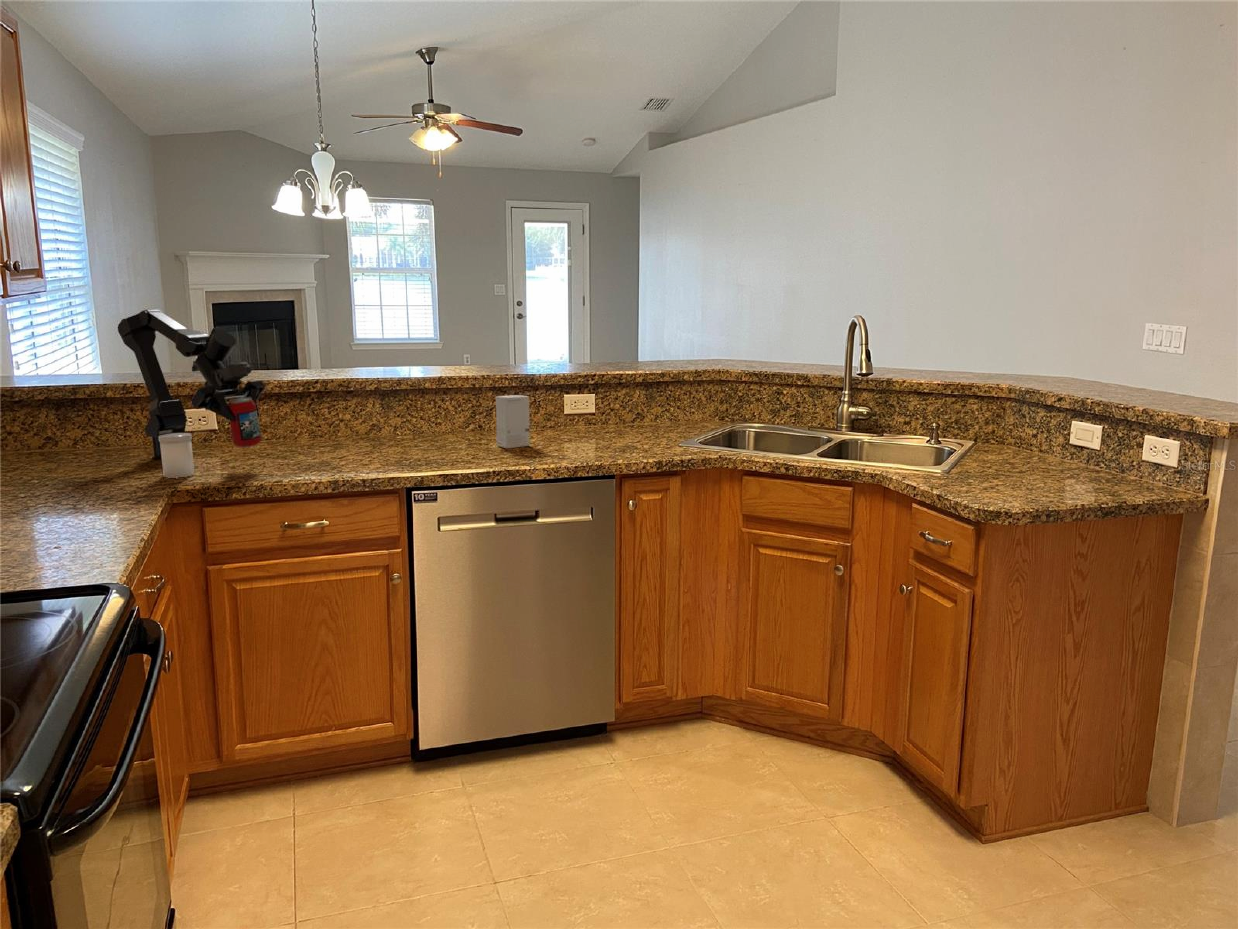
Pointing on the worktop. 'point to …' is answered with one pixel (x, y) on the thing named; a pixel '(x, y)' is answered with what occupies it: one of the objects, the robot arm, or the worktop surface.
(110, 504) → the worktop surface
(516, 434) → the skincare box
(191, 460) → the sugar jar
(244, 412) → the beverage can
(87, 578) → the worktop surface
